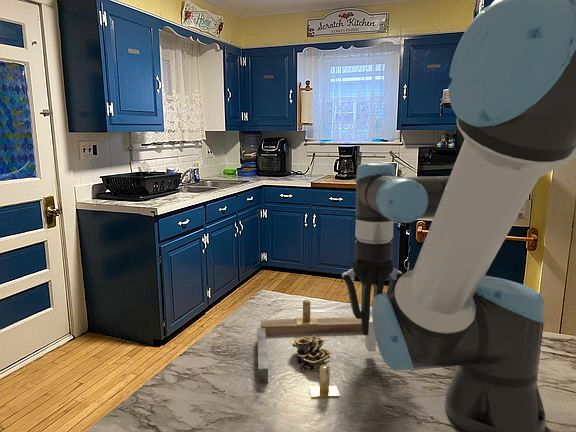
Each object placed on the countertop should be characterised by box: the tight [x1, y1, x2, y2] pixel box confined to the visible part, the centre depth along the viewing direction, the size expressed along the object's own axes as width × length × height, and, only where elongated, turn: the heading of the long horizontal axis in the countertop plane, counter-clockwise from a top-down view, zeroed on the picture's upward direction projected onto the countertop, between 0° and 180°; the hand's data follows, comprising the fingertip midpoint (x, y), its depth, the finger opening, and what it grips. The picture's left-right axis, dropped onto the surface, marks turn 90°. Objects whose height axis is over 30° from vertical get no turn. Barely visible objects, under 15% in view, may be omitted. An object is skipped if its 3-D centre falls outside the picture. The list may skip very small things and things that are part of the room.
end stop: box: [256, 327, 269, 384], centre depth 93 cm, size 18×2×3 cm, turn 5°
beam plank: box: [260, 299, 362, 336], centre depth 107 cm, size 4×30×7 cm, turn 94°
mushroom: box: [290, 335, 332, 372], centre depth 94 cm, size 12×8×4 cm, turn 2°
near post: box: [309, 364, 340, 399], centre depth 81 cm, size 3×5×5 cm, turn 94°
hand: (370, 348), depth 94 cm, fingers closed
